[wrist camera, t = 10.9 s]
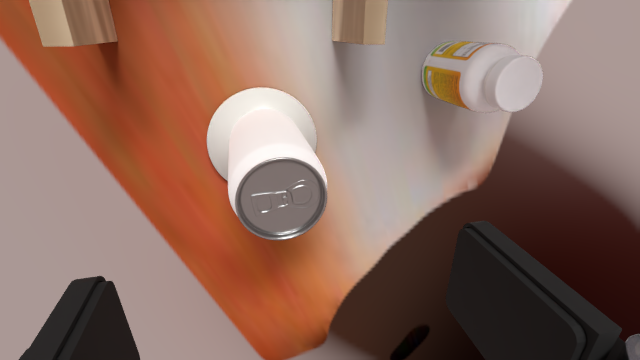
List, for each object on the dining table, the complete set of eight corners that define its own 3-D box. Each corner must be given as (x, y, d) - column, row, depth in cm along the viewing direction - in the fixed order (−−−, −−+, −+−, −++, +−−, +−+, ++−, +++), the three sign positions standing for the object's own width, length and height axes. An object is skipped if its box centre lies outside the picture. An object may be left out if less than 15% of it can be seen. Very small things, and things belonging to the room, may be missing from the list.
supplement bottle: (452, 106, 35) (524, 131, 26) (410, 86, 33) (473, 107, 24) (479, 54, 33) (566, 63, 25) (437, 30, 31) (515, 31, 23)
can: (304, 166, 33) (339, 232, 22) (238, 180, 32) (241, 257, 21) (294, 101, 30) (327, 140, 20) (220, 114, 29) (214, 163, 19)
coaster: (315, 85, 31) (316, 86, 30) (315, 185, 35) (316, 187, 34) (199, 88, 29) (199, 90, 28) (214, 194, 33) (214, 197, 32)
